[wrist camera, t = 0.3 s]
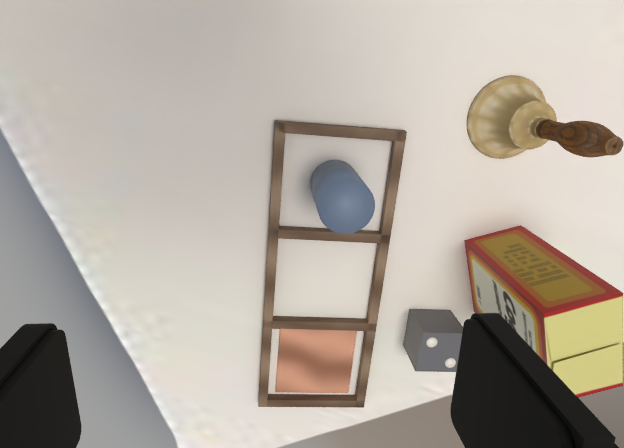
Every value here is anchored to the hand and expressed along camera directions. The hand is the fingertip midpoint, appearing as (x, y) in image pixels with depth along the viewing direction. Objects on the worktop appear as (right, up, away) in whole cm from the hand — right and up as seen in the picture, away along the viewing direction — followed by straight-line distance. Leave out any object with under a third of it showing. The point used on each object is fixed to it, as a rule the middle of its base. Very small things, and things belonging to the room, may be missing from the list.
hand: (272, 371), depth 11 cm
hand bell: (+21, +14, +36) cm, 44 cm away
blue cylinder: (+3, +8, +36) cm, 37 cm away
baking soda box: (+22, -2, +42) cm, 47 cm away
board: (+2, -3, +40) cm, 40 cm away
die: (+15, -9, +44) cm, 47 cm away
